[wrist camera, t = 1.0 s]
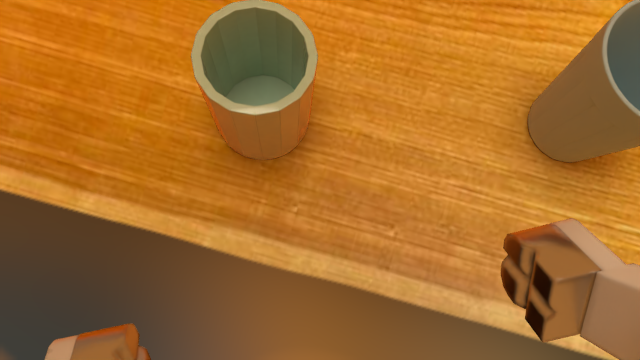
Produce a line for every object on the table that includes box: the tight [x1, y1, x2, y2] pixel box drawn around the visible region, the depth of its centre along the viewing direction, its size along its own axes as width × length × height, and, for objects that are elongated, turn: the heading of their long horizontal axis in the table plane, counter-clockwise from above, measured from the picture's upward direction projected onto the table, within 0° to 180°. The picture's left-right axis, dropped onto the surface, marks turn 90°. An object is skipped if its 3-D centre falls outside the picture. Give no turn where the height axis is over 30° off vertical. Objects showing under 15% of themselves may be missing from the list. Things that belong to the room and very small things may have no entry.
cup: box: [528, 0, 640, 162], centre depth 30 cm, size 8×8×10 cm
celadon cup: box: [191, 0, 318, 160], centre depth 29 cm, size 6×6×9 cm
